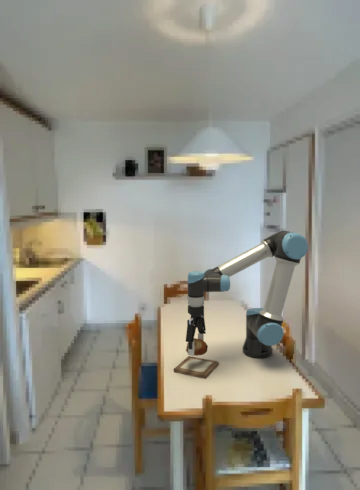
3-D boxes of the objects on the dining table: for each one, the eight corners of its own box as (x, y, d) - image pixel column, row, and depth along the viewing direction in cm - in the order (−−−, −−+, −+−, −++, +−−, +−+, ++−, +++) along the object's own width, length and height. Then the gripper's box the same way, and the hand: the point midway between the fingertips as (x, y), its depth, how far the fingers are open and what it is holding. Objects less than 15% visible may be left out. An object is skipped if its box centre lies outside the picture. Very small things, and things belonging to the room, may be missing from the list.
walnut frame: (218, 364, 181) (218, 361, 181) (205, 378, 167) (205, 375, 167) (188, 358, 188) (188, 355, 188) (173, 372, 174) (173, 368, 174)
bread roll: (188, 354, 182) (181, 340, 181) (207, 345, 182) (200, 331, 181) (191, 363, 172) (183, 348, 171) (211, 353, 172) (203, 338, 171)
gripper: (198, 298, 185) (198, 341, 188) (177, 310, 165) (178, 358, 168) (212, 299, 182) (212, 343, 185) (192, 312, 162) (193, 361, 165)
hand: (196, 350), depth 176 cm, fingers closed on bread roll, 10 cm apart
